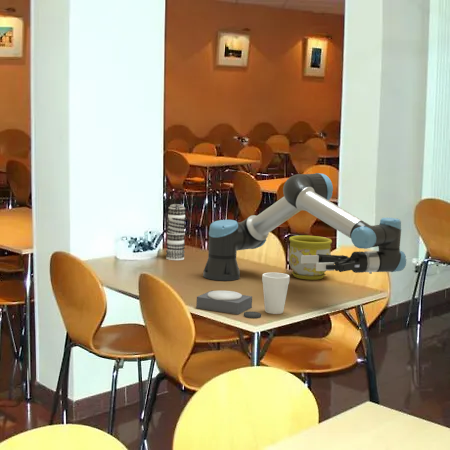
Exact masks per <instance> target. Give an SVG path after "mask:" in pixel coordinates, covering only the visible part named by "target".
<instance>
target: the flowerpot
mask: <svg viewBox="0 0 450 450" xmlns="http://www.w3.org/2000/svg"><path fill="white" fill-rule="evenodd" d="M288 240H289V242H290V243H289V250H288V264H289V266H290V268H291V270H292V271H291V274H292V275H293V277H294V278H297V279H300V280H309V281H312V280H313V281H316V280H322V279H324V277H325V276H326V272H327V271H316V263H303V264H302V263H301V256H313V255H317V254H323V255H332V254H331V253H332V252H331V248H332V246H331V244H332V243H333V241H332V239H331V238H330V237H329V238H328V237H325V236H318V235H317V236H316V235H293V236H290V237H289V238H288ZM319 263H320V262H319Z"/></svg>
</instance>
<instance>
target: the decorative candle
mask: <svg viewBox="0 0 450 450" xmlns="http://www.w3.org/2000/svg"><path fill="white" fill-rule="evenodd" d="M167 208H168V214H167V219H166V225H167V226H166V234H167V241H166V243H165V246H166V247H165V249H166V251H165V253H166V254H165V258H166V260H169V261H184V260H185V253H186V251H185V249H186V247H185V245H186V244H185V234H186V231H185V230H186V229H187V228H186V225H187V224H186V223H185V222H187V216H186V207H185V206H184V204H179V203H173V204H170V205H169V206H168V207H167Z"/></svg>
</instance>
